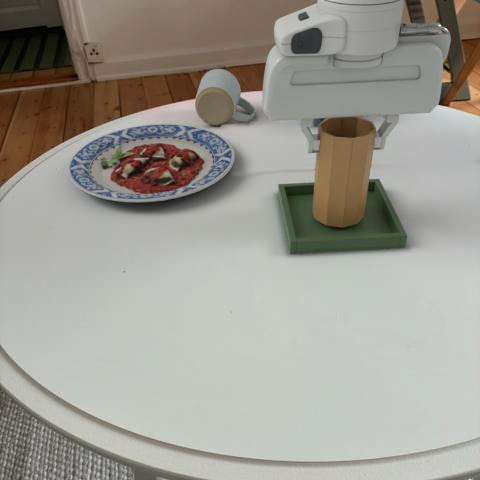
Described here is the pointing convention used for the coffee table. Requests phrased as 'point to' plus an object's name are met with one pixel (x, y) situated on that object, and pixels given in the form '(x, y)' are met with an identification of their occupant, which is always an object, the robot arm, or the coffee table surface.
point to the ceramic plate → (151, 163)
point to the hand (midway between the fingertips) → (344, 149)
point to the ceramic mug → (221, 99)
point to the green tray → (339, 238)
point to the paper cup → (343, 170)
